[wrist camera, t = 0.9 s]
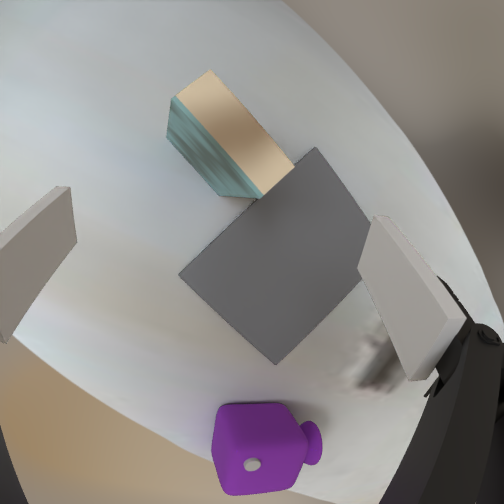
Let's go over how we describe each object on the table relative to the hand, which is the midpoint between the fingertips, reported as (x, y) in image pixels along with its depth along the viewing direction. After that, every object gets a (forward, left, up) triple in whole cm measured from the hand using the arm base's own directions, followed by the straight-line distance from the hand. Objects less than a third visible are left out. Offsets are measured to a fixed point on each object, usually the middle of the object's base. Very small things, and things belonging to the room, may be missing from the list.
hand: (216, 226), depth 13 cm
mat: (+13, +5, -20) cm, 24 cm away
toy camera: (+27, -13, -20) cm, 36 cm away
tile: (-2, +5, -20) cm, 20 cm away
